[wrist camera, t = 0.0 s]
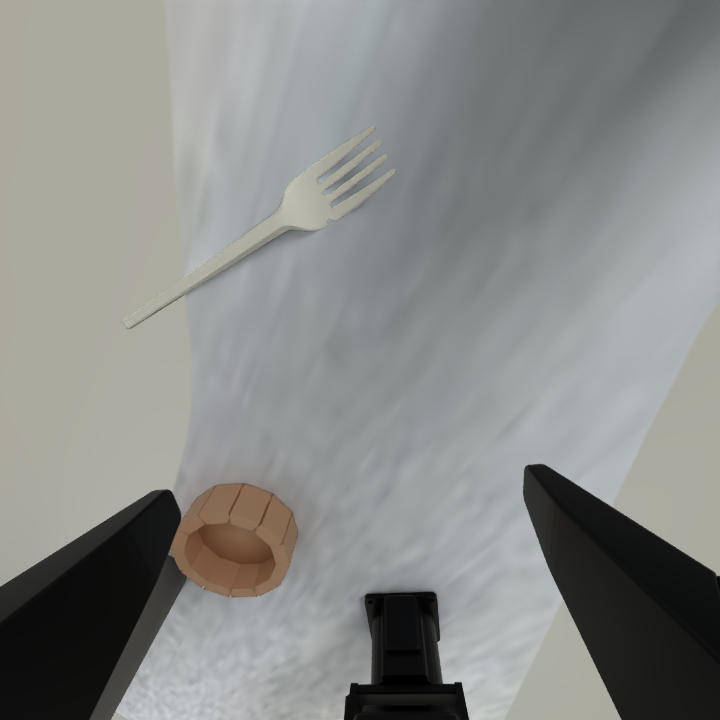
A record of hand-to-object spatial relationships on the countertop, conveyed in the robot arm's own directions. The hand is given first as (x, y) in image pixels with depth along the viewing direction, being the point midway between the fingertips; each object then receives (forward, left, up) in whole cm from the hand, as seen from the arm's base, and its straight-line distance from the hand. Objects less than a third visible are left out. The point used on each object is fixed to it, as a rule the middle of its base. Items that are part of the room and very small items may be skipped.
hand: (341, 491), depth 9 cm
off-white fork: (+6, +7, -15) cm, 18 cm away
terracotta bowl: (-16, +12, -15) cm, 25 cm away
